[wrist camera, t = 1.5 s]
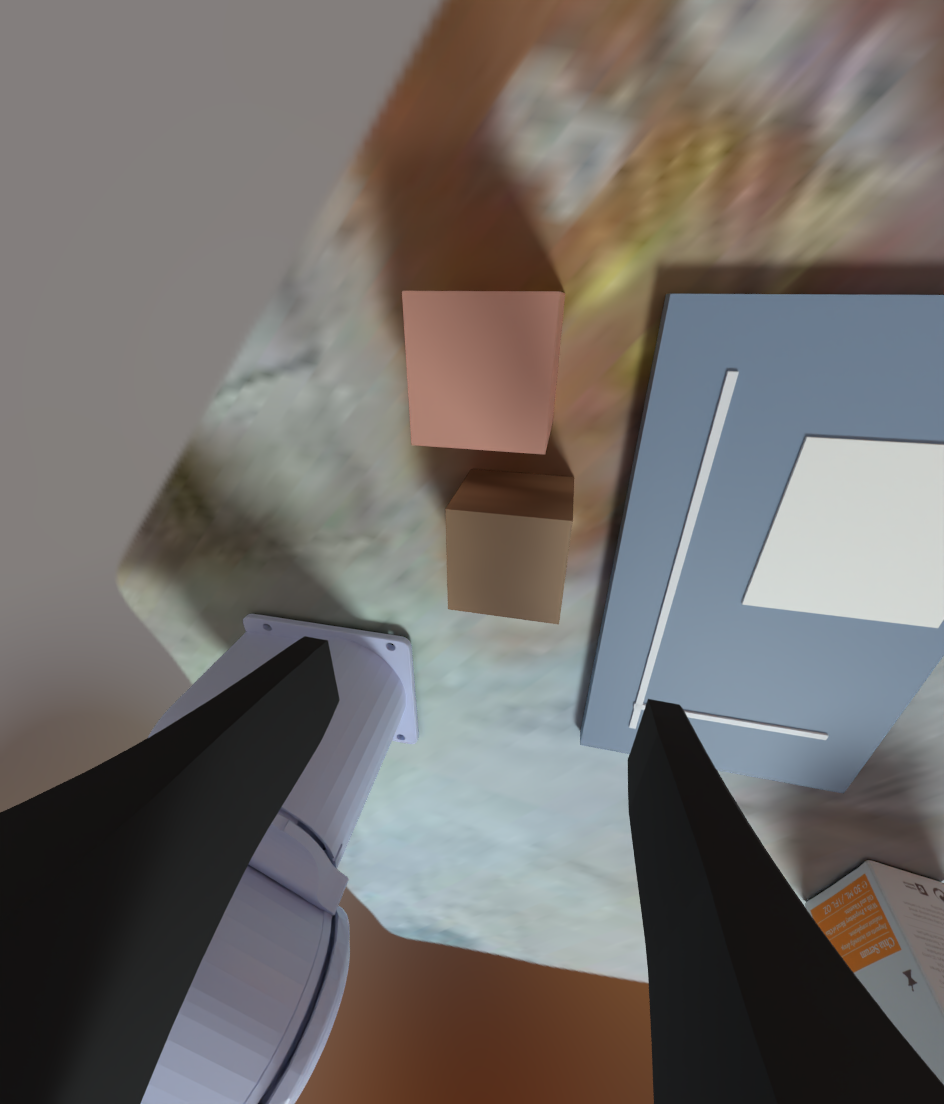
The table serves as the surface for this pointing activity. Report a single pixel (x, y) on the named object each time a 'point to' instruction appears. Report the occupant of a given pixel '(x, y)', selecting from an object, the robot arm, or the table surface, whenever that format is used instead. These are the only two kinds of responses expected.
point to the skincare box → (893, 947)
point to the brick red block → (482, 368)
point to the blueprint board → (781, 532)
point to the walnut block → (509, 544)
